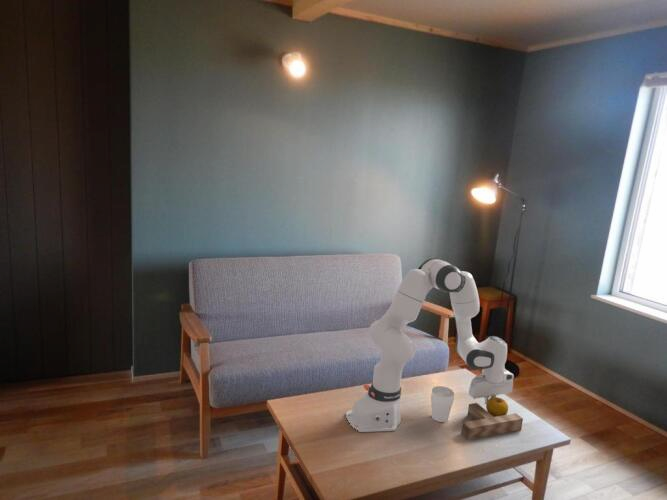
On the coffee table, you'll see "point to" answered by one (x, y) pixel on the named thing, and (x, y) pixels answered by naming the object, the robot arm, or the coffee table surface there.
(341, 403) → the coffee table surface
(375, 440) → the coffee table surface
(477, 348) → the robot arm
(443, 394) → the cup
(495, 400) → the apple
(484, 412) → the t block
